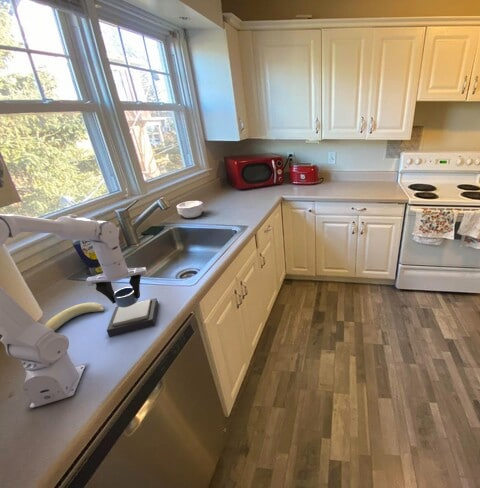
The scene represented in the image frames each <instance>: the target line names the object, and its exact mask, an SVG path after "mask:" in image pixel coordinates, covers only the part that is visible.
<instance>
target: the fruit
mask: <svg viewBox="0 0 480 488" xmlns="http://www.w3.org/2000/svg"><path fill="white" fill-rule="evenodd" d="M104 311H106V310H105V308H104V307H103V305H102V304H100V303H99V302H94V301H93V302H83V303H78V304H76V305H72V306H70V307H68V308H66V309H63V310H62V311H60V312H58V313H57V314H55V315H53V316H52V317H51V318H49V320H47V321H46V323H45V324H43V325H44V326H46V327H48V328H50V329H52V330H53V331H54V332H55V331H56V330H58V329H59V328H60V327H61V326H62V325H64V324H65V323H67V322H69V321H70V320H72V319H73V318H75V317H78V316H80V315H84V314H87V313H95V312H104Z"/></svg>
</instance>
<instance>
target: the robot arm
mask: <svg viewBox="0 0 480 488" xmlns="http://www.w3.org/2000/svg"><path fill="white" fill-rule="evenodd" d="M19 233H39V234H41V233H42V234H53V235H54V236H55V237H56V238H57V239H59V240H62V241H78V242H79V241H80V242H90V244H91V246H92V249H93V251H94V253H95V256H96V259H97V261H98V263H99V265H100V268H101V271H102V273H100V274H96V275H93V276H89V277H87V279H86V280H85V282H86V284H87V286H88V287H93V286H95V290H96V291H97V292H99V293H100V294H102V295H104V296H105V297H106V298H107V299H108V300H109V301H110V302H111V303H112V304H116V302H115V299H114V297H113V294H114V293H115V291H114V289H113V288H114V287H113V285H112V282H117V281H121V280H125V279H128V278H130V279H129V281H128V283H129V285H130V287H132V288H133V290H134V293H135V296H136V298H138V299H140V297H141V290H140V289H141V288H140V287H141V285H140V284H141V278H142V277H145V276H147V275H148V270H147V267H146V266H144V267H128V266H127V262H126V260H125V258H124V257H125V256H124V254H123V252H122V249H121V246H120V239H119V237H120V227H117V226H116V225H115V223H113V222H112V221H110V220H109V221H108V220H107V221H106V220H97V219H96V218H95V217H88V218H83V217H82V218H81V217H78V215H77V214H69V213H68V214H67V215H62V216H59V217H57V218H56V219H49V218H41V217H35V216H28V215H20V214H15V213H14V214H12V213H0V248H2V246H3V245H4V244H5V243H6V242H7V240H8V239H9V238H10V239H11V238H12V239H13V238H15V237H16V236H17V235H18V234H19ZM44 325H45V324H42V323H39V322H38V321H37V320H36V319H35V318H34V317H33V316H31V314H30V313H29V312H28V311H27V310H25V308H24V307H22V305H20V304H19V302H18V301H17V300H16V299H14V298H13V296H11V295H10V293H8V292H7V291H6V289H4V287H2V286H1V285H0V335H1V336H2V337H1V338H0V343H2V344H3V345H4V348H5V352H6V355H7V356H9V358H12V359H19V360H20V362H21V365H22V367H23V368H24V371H25V380H24V382H23V384H22V389H23V392H24V393H25V395H26V396H27V397H28V398H29V400H30V401H31V403H30V405H29V408H30V409H34V408H37V407H41V406H44V405H47V404H50V403H54V402H57V401H60V400H64V399H67V398H70V397H72V396H74V395H75V393H76V391H77V388H78V386H79V383H80V381H81V378H82V376H83V374H84V370H85V369H86V364H82V365H79V366H76V365H75V362H74V361H73V360H72V357H71V356H70V353H68V349H69V346H70V340H69V338H68V337H67V335H65V334H64V333H63V334H62V333H58V332H55V331H53V330H52V329H50V328H48V327H46V326H44Z"/></svg>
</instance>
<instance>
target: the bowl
mask: <svg viewBox="0 0 480 488" xmlns="http://www.w3.org/2000/svg"><path fill="white" fill-rule="evenodd" d="M113 297H114V299H115V302H116V303H115V304H116V307H129V306H131V305H133V304H135V303H136V302H139V301H138V300H139V298H136V296H135V293H134V290H133V288H132V286H126V287H122V288H119V289H118V290H116V291H114V294H113Z"/></svg>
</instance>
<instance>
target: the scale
mask: <svg viewBox="0 0 480 488" xmlns="http://www.w3.org/2000/svg"><path fill="white" fill-rule="evenodd" d="M149 300H151V307H150V312H149V316H148V318H147V319H143V320H138V321H134V322H130V323H126V324H122V325H118V326H113V321H114V318H115V316H116V313H117V310H118V308H119V307H118V306H115V307H114V310H113V313H112V315H111V318H110V321H109V323H108V326H107V328H106V332H107V335H108V337H109V338H110V337H114V336H119V335H123V334H126V333H131V332H134V331H139V330H143V329H146V328H150V327H155V325H156V320H157V314H158V308H159V301H158V299H157V297H156V298H150V299H149Z"/></svg>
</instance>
